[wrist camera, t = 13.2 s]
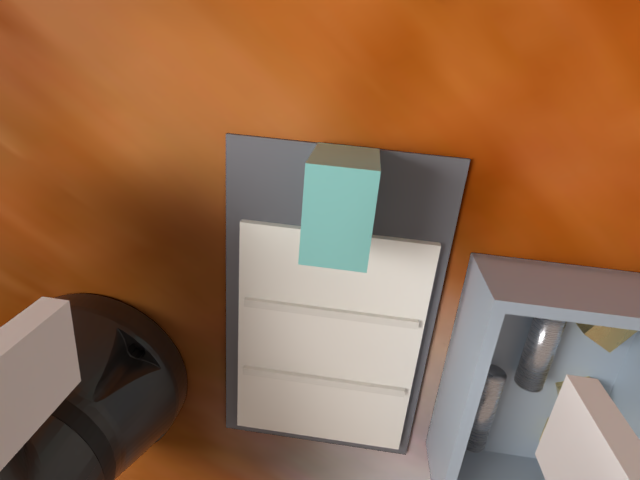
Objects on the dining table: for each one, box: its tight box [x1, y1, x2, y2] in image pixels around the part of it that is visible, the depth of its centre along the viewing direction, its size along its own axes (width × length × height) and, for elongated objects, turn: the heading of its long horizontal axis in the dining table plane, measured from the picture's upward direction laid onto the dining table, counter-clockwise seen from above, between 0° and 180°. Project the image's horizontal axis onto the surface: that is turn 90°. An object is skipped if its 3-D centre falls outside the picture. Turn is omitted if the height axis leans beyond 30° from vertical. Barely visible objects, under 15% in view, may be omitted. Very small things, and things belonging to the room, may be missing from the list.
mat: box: [226, 133, 470, 455], centre depth 34 cm, size 16×26×1 cm, turn 175°
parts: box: [466, 317, 637, 453], centre depth 32 cm, size 9×14×2 cm
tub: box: [426, 253, 640, 480], centre depth 31 cm, size 13×18×6 cm
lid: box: [237, 142, 441, 450], centre depth 31 cm, size 14×25×6 cm, turn 175°
